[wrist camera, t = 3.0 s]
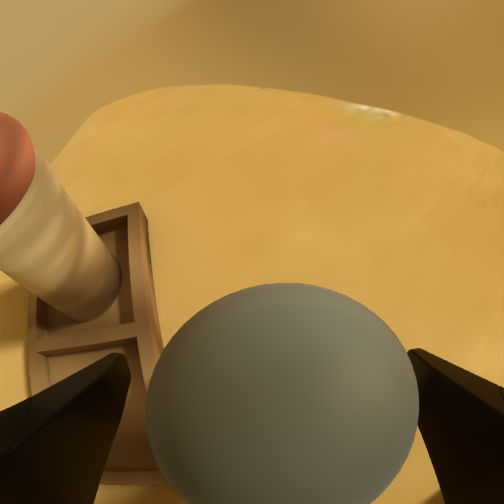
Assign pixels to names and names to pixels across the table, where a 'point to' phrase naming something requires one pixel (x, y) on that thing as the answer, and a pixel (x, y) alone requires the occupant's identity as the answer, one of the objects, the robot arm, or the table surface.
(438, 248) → the table surface
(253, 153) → the table surface
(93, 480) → the robot arm
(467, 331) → the table surface
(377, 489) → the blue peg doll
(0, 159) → the red peg doll
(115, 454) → the doll tray
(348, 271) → the table surface
